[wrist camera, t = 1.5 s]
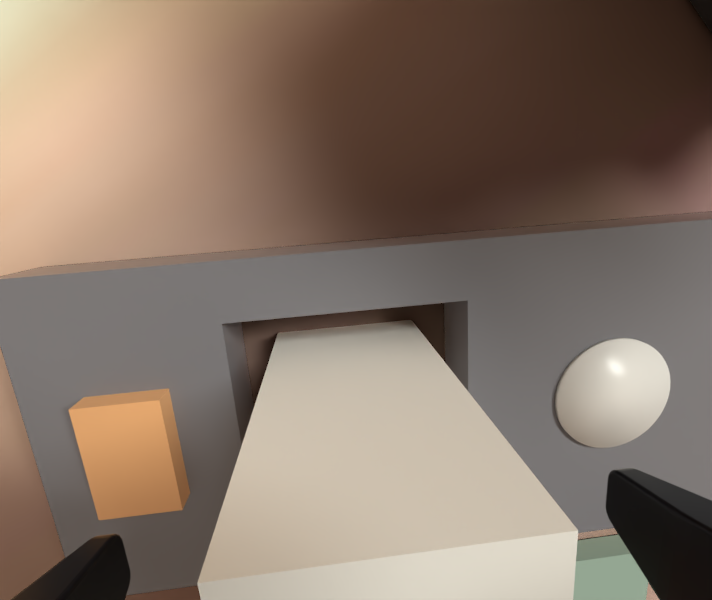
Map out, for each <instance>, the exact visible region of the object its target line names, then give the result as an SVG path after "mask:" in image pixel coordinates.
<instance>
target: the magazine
mask: <svg viewBox="0 0 712 600" xmlns="http://www.w3.org/2000/svg"><path fill="white" fill-rule="evenodd" d="M690 2H691V3H692V5H693V6H694V8H695V9H696V11H697V12H698V14H699V15H700V17H701V18H702V20H703V21H704V23H705V24H706V26H707V27H708V29H709V30H710V32H711V33H712V0H690Z"/></svg>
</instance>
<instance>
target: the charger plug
mask: <svg viewBox="0 0 712 600" xmlns="http://www.w3.org/2000/svg"><path fill="white" fill-rule="evenodd" d="M577 541H578V529H577V528H576V527H575V526H574V524H573V523H572V522H571V521H570V519H569V518H568V517H567V516H566V514H565V513H564V512H563V511H562V509H561V508H560V507H559V506H558V504H557V503H556V502H555V500H554V499H553V498H552V497H551V495H550V494H549V493H548V492H547V490H546V489H545V488H544V487H543V485H542V484H541V483H540V482H539V480H538V479H537V478H536V476H535V475H534V474H533V473H532V471H531V470H530V469H529V468H528V466H527V465H526V464H525V463H524V461H523V460H522V459H521V458H520V456H519V455H518V454H517V452H516V451H515V450H514V449H513V447H512V446H511V445H510V444H509V442H508V441H507V440H506V439H505V437H504V436H503V435H502V434H501V432H500V431H499V430H498V428H497V427H496V426H495V425H494V423H493V422H492V421H491V420H490V418H489V417H488V416H487V415H486V413H485V412H484V411H483V410H482V408H481V407H480V406H479V405H478V403H477V402H476V401H475V399H474V398H473V397H472V396H471V394H470V393H469V392H468V391H467V389H466V388H465V387H464V386H463V384H462V383H461V382H460V381H459V379H458V378H457V377H456V375H455V374H454V373H453V372H452V370H451V369H450V368H449V367H448V365H447V364H446V363H445V362H444V360H443V359H442V358H441V357H440V355H439V354H438V353H437V351H436V350H435V349H434V348H433V346H432V345H431V344H430V343H429V341H428V340H427V339H426V338H425V336H424V335H423V334H422V333H421V331H420V330H419V329H418V328H417V326H416V325H415V324H414V322H413V321H412V320H403V321H393V322H382V323H372V324H362V325H352V326H341V327H331V328H321V329H311V330H301V331H290V332H280V333H278V334H277V337H276V340H275V344H274V347H273V350H272V353H271V356H270V359H269V362H268V365H267V368H266V371H265V375H264V378H263V381H262V384H261V387H260V390H259V393H258V396H257V399H256V403H255V406H254V409H253V412H252V415H251V418H250V421H249V424H248V427H247V430H246V434H245V437H244V440H243V443H242V446H241V449H240V452H239V455H238V458H237V462H236V465H235V468H234V471H233V474H232V477H231V480H230V483H229V486H228V489H227V493H226V496H225V499H224V502H223V505H222V508H221V511H220V514H219V517H218V521H217V524H216V527H215V530H214V533H213V536H212V539H211V542H210V545H209V548H208V552H207V555H206V558H205V561H204V564H203V567H202V570H201V573H200V576H199V579H198V583H197V584H198V589H199V594H200V599H201V600H573V595H574V581H575V568H576V554H577Z"/></svg>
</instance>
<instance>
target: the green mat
mask: <svg viewBox="0 0 712 600" xmlns="http://www.w3.org/2000/svg"><path fill="white" fill-rule="evenodd" d="M647 587H648V581H647V579H646V577H645V576H644V574H643V573H642V571H641V569H640V568H639V566H638V565H637V563H636V561H635V560H634V558H633V557H632V555H631V554H630V552H629V550H628V549H627V547H626V546H625V544H624V542H623V541H622V539H621V538H620V536H619V535H612V536H605V537H598V538H591V539H583V540H578V541H577V554H576V568H575V581H574V595H573V600H646V595H647Z"/></svg>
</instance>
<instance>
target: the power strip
mask: <svg viewBox="0 0 712 600" xmlns="http://www.w3.org/2000/svg"><path fill="white" fill-rule="evenodd" d="M436 303H444V333H445V363H446V364H447V365H448V367H449V368H450V369H451V370H452V372H453V373H454V374H455V375H456V377H457V378H458V379H459V381H460V382H461V383H462V384H463V386H464V387H465V388H466V389H467V391H468V392H469V393H470V394H471V396H472V397H473V398H474V399H475V401H476V402H477V403H478V405H479V406H480V407H481V408H482V410H483V411H484V412H485V413H486V415H487V416H488V417H489V418H490V420H491V421H492V422H493V423H494V425H495V426H496V427H497V428H498V430H499V431H500V432H501V434H502V435H503V436H504V437H505V439H506V440H507V441H508V442H509V444H510V445H511V446H512V447H513V449H514V450H515V451H516V452H517V454H518V455H519V456H520V458H521V459H522V460H523V461H524V463H525V464H526V465H527V466H528V468H529V469H530V470H531V471H532V473H533V474H534V475H535V476H536V478H537V479H538V480H539V482H540V483H541V484H542V485H543V487H544V488H545V489H546V490H547V492H548V493H549V494H550V495H551V497H552V498H553V499H554V500H555V502H556V503H557V504H558V506H559V507H560V508H561V509H562V511H563V512H564V513H565V514H566V516H567V517H568V518H569V519H570V521H571V522H572V523H573V524H574V526H575V527H576V528H577V529H578V533H581V532H588V531H595V530H603V529H610V528H614V527H613V525H612V523H611V522H610V520H609V518H608V515H607V512H606V494H607V482H608V475H609V473H610V472H611V471H612V470H616V469H623V468H635V469H638V470H640V471H642V472H645V473H647V474H650V475H652V476H654V477H657V478H659V479H662V480H664V481H666V482H669V483H671V484H673V485H676V486H678V487H681V488H683V489H685V490H688V491H690V492H693V493H695V494H697V495H700V496H702V497H704V498H707V499H709V500H712V211H710V212H698V213H686V214H674V215H662V216H650V217H638V218H626V219H614V220H601V221H589V222H577V223H565V224H553V225H541V226H529V227H517V228H505V229H493V230H481V231H469V232H457V233H445V234H433V235H421V236H408V237H396V238H384V239H372V240H360V241H348V242H336V243H324V244H312V245H300V246H288V247H276V248H264V249H252V250H240V251H228V252H215V253H203V254H191V255H179V256H167V257H155V258H143V259H131V260H119V261H107V262H95V263H83V264H71V265H59V266H47V267H39V268H35V269H30V270H26V271H21V272H17V273H13V274H8V275H4V276H0V347H1V350H2V353H3V356H4V360H5V363H6V366H7V369H8V373H9V376H10V379H11V382H12V386H13V389H14V392H15V395H16V399H17V402H18V405H19V408H20V412H21V415H22V418H23V421H24V425H25V428H26V431H27V434H28V438H29V441H30V444H31V447H32V451H33V454H34V457H35V460H36V464H37V467H38V470H39V473H40V477H41V480H42V483H43V486H44V490H45V493H46V496H47V499H48V503H49V506H50V509H51V512H52V516H53V519H54V522H55V526H56V529H57V532H58V535H59V539H60V542H61V545H62V548H63V552H64V555H65V558H66V557H67V556H68V555H70V554H71V553H72V552H74V551H75V550H76V549H78V548H79V547H80V546H81V545H83V544H84V543H85V542H87V541H88V540H89V539H91V538H93V537H95V536H100V535H108V534H118V535H120V537H121V538H122V540H123V544H124V548H125V551H126V555H127V559H128V563H129V567H130V573H131V577H130V584H129V588H128V591H127V595H133V594H140V593H147V592H154V591H161V590H169V589H176V588H183V587H190V586H198V584H197V583H198V579H199V576H200V573H201V570H202V567H203V564H204V561H205V558H206V555H207V552H208V548H209V545H210V542H211V539H212V536H213V533H214V530H215V527H216V524H217V521H218V517H219V514H220V511H221V508H222V505H223V502H224V499H225V496H226V493H227V489H228V486H229V483H230V480H231V477H232V474H233V471H234V468H235V465H236V462H237V458H238V455H239V452H240V449H241V446H242V443H243V440H244V437H245V434H246V430H247V427H248V424H249V421H250V418H251V415H252V412H253V409H254V404H253V397H252V390H251V384H250V377H249V370H248V364H247V357H246V350H245V344H244V337H243V330H242V324H241V322H247V321H257V320H268V319H279V318H289V317H300V316H310V315H321V314H331V313H342V312H352V311H363V310H373V309H384V308H394V307H405V306H415V305H426V304H436Z"/></svg>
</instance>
